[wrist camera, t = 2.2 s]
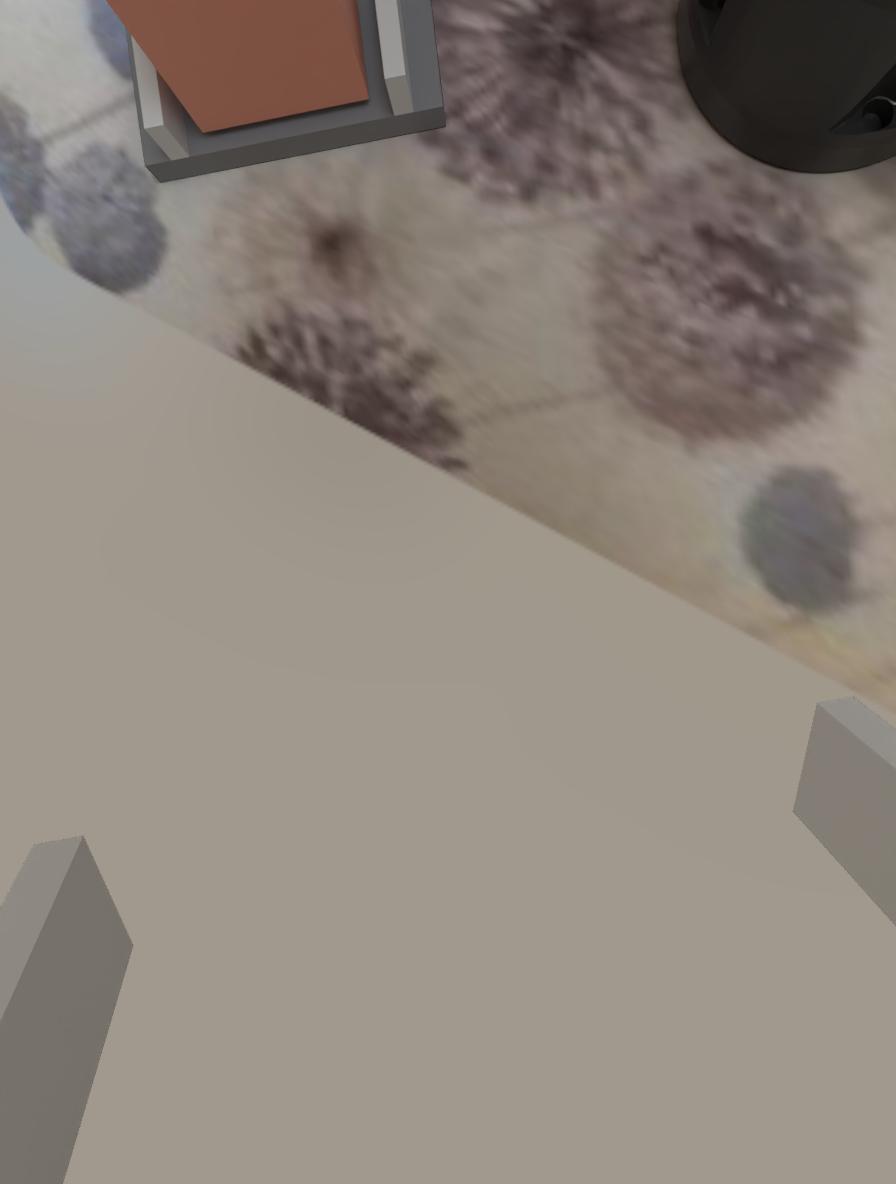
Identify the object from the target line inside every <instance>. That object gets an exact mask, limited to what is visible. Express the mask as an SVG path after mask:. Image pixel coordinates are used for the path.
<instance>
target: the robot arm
mask: <svg viewBox="0 0 896 1184" xmlns="http://www.w3.org/2000/svg"><path fill="white" fill-rule="evenodd" d="M677 36H678V47H679V54H680V59H681V64H682V68H683V71H684V75H685V77H686V80H687V83H688V85H689V88H690V90H691V92H692V94H693V96H694V98H695V100H696V102H697V104H698V105H699V107H700V108H701V110H702V111H703V113H704V114H705V115H706V117H707V118H708V119H709V121H710V122H711V123H712V124H713V125H714V126H715V127H716V129H717V130H718V131H719V132H720V133H722V134H723V135H724V136H725V137H726V138H727V139H728V140H730V141H731V142H732V143H733V144H735V145H736V146H738V147H739V148H741V149H742V150H744V151H745V152H747V153H749V154H751V155H752V156H754V157H757V158H759V159H761V160H763V161H766V162H768V163H771V164H774V165H777V166H781V167H784V168H789V169H794V170H800V171H809V172H834V171H843V170H850V169H855V168H859V167H863V166H867V165H871V164H874V163H877V162H880V161H882V160H885V159H887V158H890V157H892V156H894V155H896V0H680V1H679V9H678V21H677ZM793 812H794V813H795V814H796V816H797V817H798V818H799V819H800V820H801V821H802V822H803V823H804V824H805V826H806V827H807V828H808V829H809V830H810V831H811V832H812V833H813V835H814V836H815V837H816V838H817V839H818V840H819V841H820V842H821V843H822V845H823V846H824V847H825V848H826V849H827V850H828V851H829V852H830V853H831V855H832V856H833V857H834V858H835V859H836V860H837V861H838V862H839V863H840V864H841V866H842V867H843V868H844V869H845V870H846V871H847V872H848V874H849V875H850V876H851V877H852V878H853V879H854V880H855V881H856V882H857V883H858V884H859V886H860V887H861V888H862V889H863V890H864V891H865V892H866V894H867V895H868V896H869V897H870V898H871V899H872V900H873V901H874V902H875V904H876V905H877V906H878V907H879V908H880V909H881V910H882V911H883V912H884V914H885V915H886V916H887V917H888V918H889V919H890V920H891V921H892V922H893V924H894V925H895V926H896V728H894V727H893V726H892V725H890V724H889V723H888V722H887V721H885V720H884V719H882V718H881V717H880V716H879V715H877V714H876V713H875V712H873V711H872V710H871V709H870V708H868V707H867V706H866V705H864V704H863V703H862V702H860V701H859V700H858V699H857V698H855V697H854V696H853V697H848V698H843V699H837V700H831V701H826V702H820V703H817V705H816V710H815V714H814V719H813V723H812V728H811V732H810V737H809V742H808V746H807V750H806V755H805V760H804V764H803V769H802V773H801V778H800V782H799V787H798V791H797V796H796V801H795V805H794V809H793ZM132 948H133V944H132V941H131V939H130V937H129V935H128V933H127V931H126V928H125V926H124V924H123V922H122V919H121V917H120V915H119V913H118V911H117V908H116V906H115V904H114V902H113V900H112V897H111V895H110V893H109V891H108V889H107V886H106V884H105V882H104V880H103V878H102V876H101V873H100V871H99V869H98V867H97V865H96V862H95V860H94V858H93V856H92V854H91V852H90V849H89V847H88V845H87V843H86V841H85V838H84V836H79V837H74V838H68V839H63V840H57V841H51V842H46V843H40V844H34V845H33V847H32V848H31V851H30V852H29V854H28V856H27V858H26V860H25V862H24V863H23V866H22V867H21V869H20V871H19V873H18V875H17V877H16V879H15V880H14V882H13V885H12V886H11V888H10V890H9V892H8V894H7V896H6V897H5V899H4V901H3V903H2V905H1V907H0V1184H63V1182H64V1179H65V1175H66V1172H67V1168H68V1165H69V1162H70V1158H71V1155H72V1151H73V1148H74V1145H75V1141H76V1138H77V1135H78V1131H79V1128H80V1124H81V1121H82V1117H83V1114H84V1111H85V1107H86V1104H87V1100H88V1097H89V1094H90V1091H91V1087H92V1084H93V1080H94V1077H95V1074H96V1070H97V1067H98V1063H99V1060H100V1056H101V1053H102V1050H103V1046H104V1043H105V1039H106V1036H107V1033H108V1029H109V1026H110V1023H111V1019H112V1016H113V1012H114V1009H115V1006H116V1002H117V999H118V995H119V992H120V989H121V985H122V982H123V978H124V975H125V972H126V968H127V965H128V962H129V958H130V955H131V951H132Z"/></svg>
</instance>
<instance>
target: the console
mask: <svg viewBox="0 0 896 1184" xmlns="http://www.w3.org/2000/svg"><path fill="white" fill-rule="evenodd" d="M357 4H358V12H359V20H360V28H361V36H362V44H363V52H364V60H365V68H366V76H367V85H368V93H369V99H367V100H362V101H357V102H352V103H347V104H342V105H338V106H333V107H328V108H323V109H318V110H313V111H308V112H303V113H298V114H293V115H288V116H283V117H279V118H274V119H269V120H264V121H259V122H254V123H249V124H244V125H239V126H234V127H229V128H225V129H220V130H215V131H210V132H205V133H203V132H202V131H201V130H200V128H199V127H198V126H197V124H196V123H195V121H194V120H193V119H192V117H191V116H190V115H189V113H188V112H187V110H186V109H185V108H184V106H183V105H182V104H181V102H180V101H179V100H178V98H177V97H176V95H175V94H174V93H173V91H172V90H171V89H170V87H169V86H168V84H167V83H166V82H165V80H164V79H163V78H162V76H161V75H160V73H159V72H158V71H157V69H156V68H155V67H154V65H153V64H152V62H151V61H150V60H149V58H148V57H147V56H146V54H145V53H144V52H143V50H142V49H141V47H140V46H139V45H138V43H137V42H136V41H135V39H134V38H133V36H132V35H131V34H130V32H129V31H128V30H127V28H126V27H125V28H126V35H127V42H128V50H129V57H130V64H131V71H132V78H133V85H134V92H135V99H136V106H137V113H138V120H139V127H140V135H141V142H142V149H143V156H144V163H145V166H146V168H147V169H148V170H149V171H150V172H151V173H152V174H153V175H154V176H155V177H156V178H157V179H158V180H159V181H160V182H165V181H170V180H175V179H181V178H186V177H191V176H196V175H201V174H206V173H211V172H216V171H221V170H226V169H232V168H237V167H242V166H247V165H252V164H257V163H262V162H267V161H272V160H277V159H282V158H288V157H293V156H298V155H303V154H308V153H313V152H318V151H323V150H328V149H333V148H338V147H344V146H349V145H354V144H359V143H364V142H369V141H374V140H379V139H384V138H389V137H394V136H400V135H405V134H410V133H415V132H420V131H425V130H430V129H435V128H440V127H445V126H446V122H445V113H444V105H443V96H442V88H441V80H440V71H439V63H438V54H437V46H436V38H435V29H434V21H433V13H432V4H431V0H357Z"/></svg>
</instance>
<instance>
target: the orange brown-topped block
mask: <svg viewBox="0 0 896 1184" xmlns="http://www.w3.org/2000/svg"><path fill="white" fill-rule="evenodd" d="M106 1H107V2H108V4H109V5H110V6H111V8H112V9H113V10H114V12H115V13H116V15H117V16H118V17H119V19H120V20H121V21H122V23H123V24H124V25H125V27H126V28H127V30H128V31H129V32H130V34H131V35H132V36H133V38H134V39H135V41H136V42H137V43H138V45H139V46H140V47H141V49H142V50H143V52H144V53H145V54H146V56H147V57H148V58H149V60H150V61H151V62H152V64H153V65H154V67H155V68H156V69H157V71H158V72H159V73H160V75H161V76H162V78H163V79H164V80H165V82H166V83H167V84H168V86H169V87H170V89H171V90H172V91H173V93H174V94H175V95H176V97H177V98H178V100H179V101H180V102H181V104H182V105H183V106H184V108H185V109H186V110H187V112H188V113H189V115H190V116H191V117H192V119H193V120H194V121H195V123H196V124H197V126H198V127H199V128H200V130H201V131H202V132H203V133H205V132H210V131H215V130H220V129H225V128H229V127H234V126H239V125H244V124H249V123H254V122H259V121H264V120H269V119H274V118H279V117H283V116H288V115H293V114H298V113H303V112H308V111H313V110H318V109H323V108H328V107H333V106H338V105H342V104H347V103H352V102H357V101H362V100H367V99H369V93H368V85H367V76H366V68H365V60H364V52H363V44H362V36H361V28H360V20H359V12H358V4H357V0H106Z"/></svg>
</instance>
